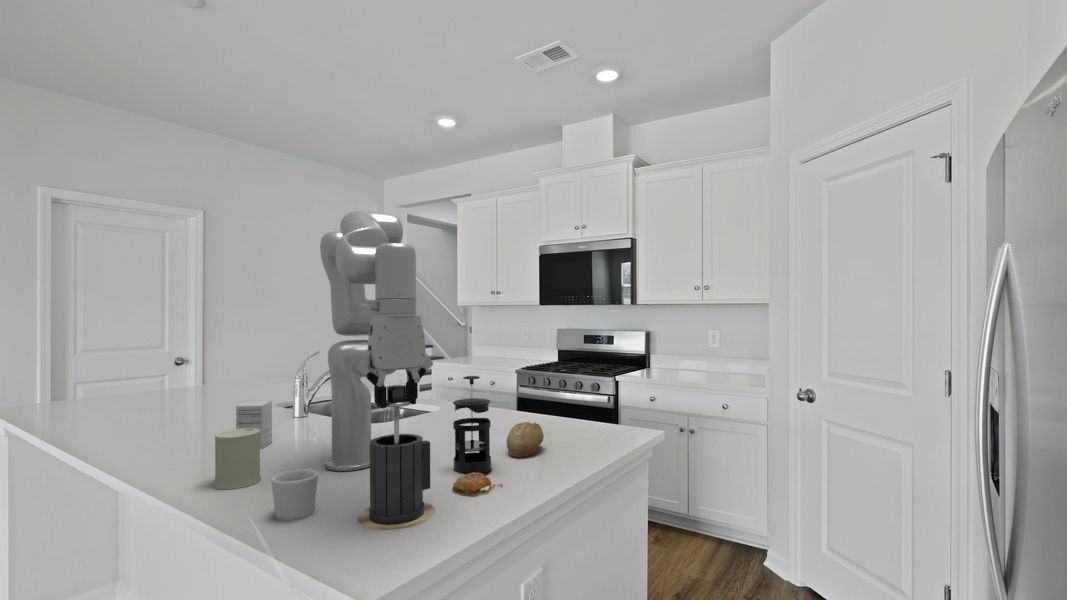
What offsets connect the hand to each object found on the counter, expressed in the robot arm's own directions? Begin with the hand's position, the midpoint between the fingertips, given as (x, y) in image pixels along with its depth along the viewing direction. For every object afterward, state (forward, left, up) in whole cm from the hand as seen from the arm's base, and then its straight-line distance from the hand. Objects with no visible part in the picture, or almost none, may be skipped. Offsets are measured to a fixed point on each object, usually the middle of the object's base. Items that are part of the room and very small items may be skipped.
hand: (396, 404), depth 95 cm
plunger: (0, 0, -18) cm, 18 cm away
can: (-43, -20, -22) cm, 52 cm away
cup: (-14, -14, -22) cm, 29 cm away
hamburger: (-3, +20, -22) cm, 30 cm away
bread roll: (-20, +46, -22) cm, 55 cm away
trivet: (0, 0, -21) cm, 21 cm away
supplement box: (-77, -11, -22) cm, 81 cm away
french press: (-15, +26, -22) cm, 37 cm away
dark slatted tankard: (0, 0, -21) cm, 21 cm away
